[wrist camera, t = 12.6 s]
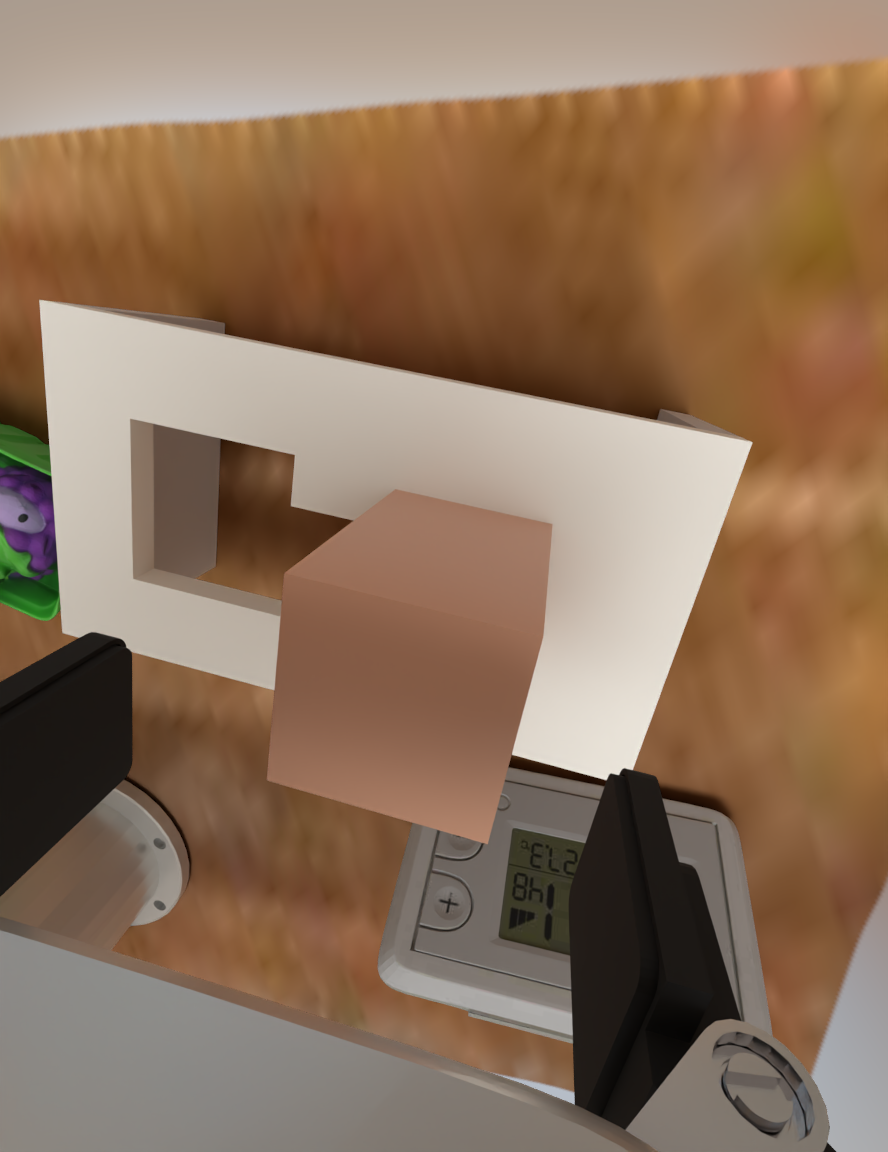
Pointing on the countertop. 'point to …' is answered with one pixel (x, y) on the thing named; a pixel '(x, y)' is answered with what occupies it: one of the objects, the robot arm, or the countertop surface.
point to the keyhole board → (356, 483)
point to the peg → (410, 660)
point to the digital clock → (541, 907)
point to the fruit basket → (27, 526)
